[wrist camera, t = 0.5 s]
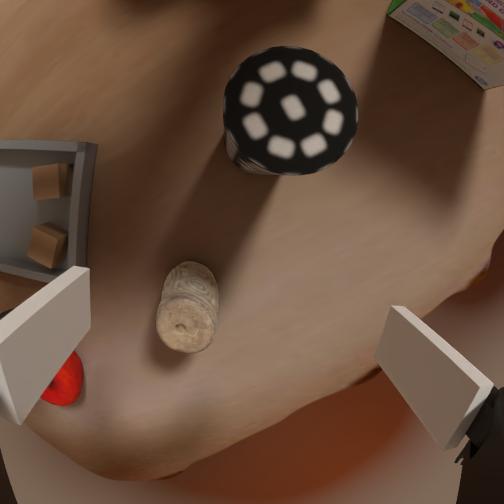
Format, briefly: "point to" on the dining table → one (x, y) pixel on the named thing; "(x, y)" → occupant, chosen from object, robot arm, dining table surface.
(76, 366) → the apple
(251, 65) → the spotted tube
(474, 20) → the game box
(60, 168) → the walnut block
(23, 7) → the dining table surface
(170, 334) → the carving
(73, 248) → the tray
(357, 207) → the dining table surface
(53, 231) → the walnut block
